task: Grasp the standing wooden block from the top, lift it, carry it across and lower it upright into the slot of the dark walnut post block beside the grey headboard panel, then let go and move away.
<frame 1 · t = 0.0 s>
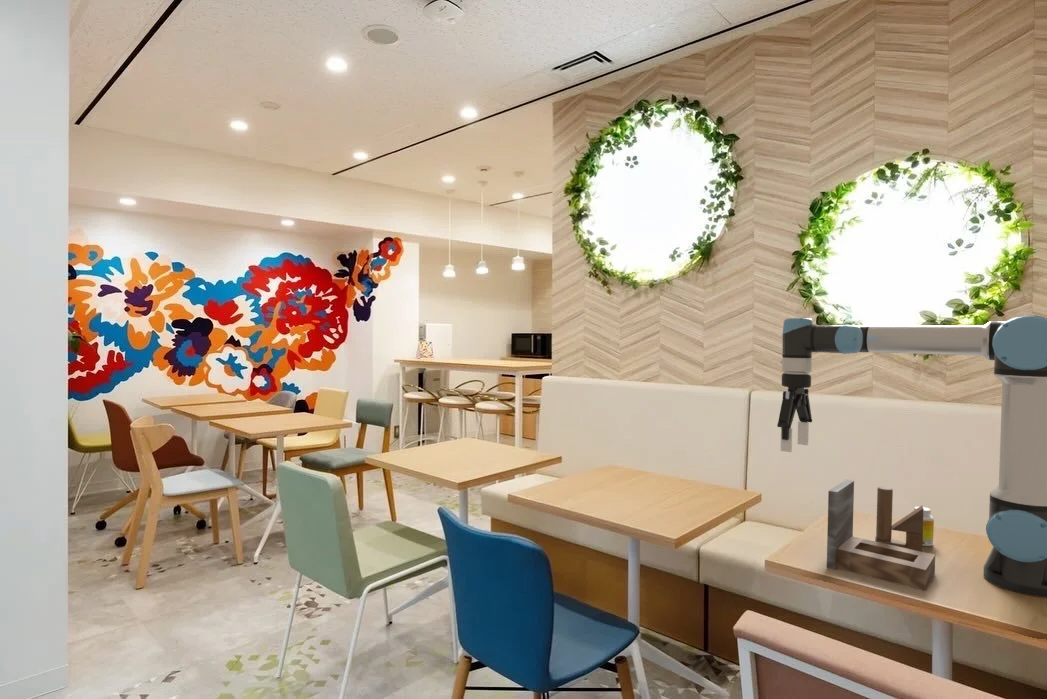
hand: (794, 448, 165), 28 cm above the table, tool pointing down, fingers open, 13 cm apart
wooden block: (897, 555, 159), on the table
post block: (885, 571, 148), on the table
supplement bottle: (921, 544, 168), on the table
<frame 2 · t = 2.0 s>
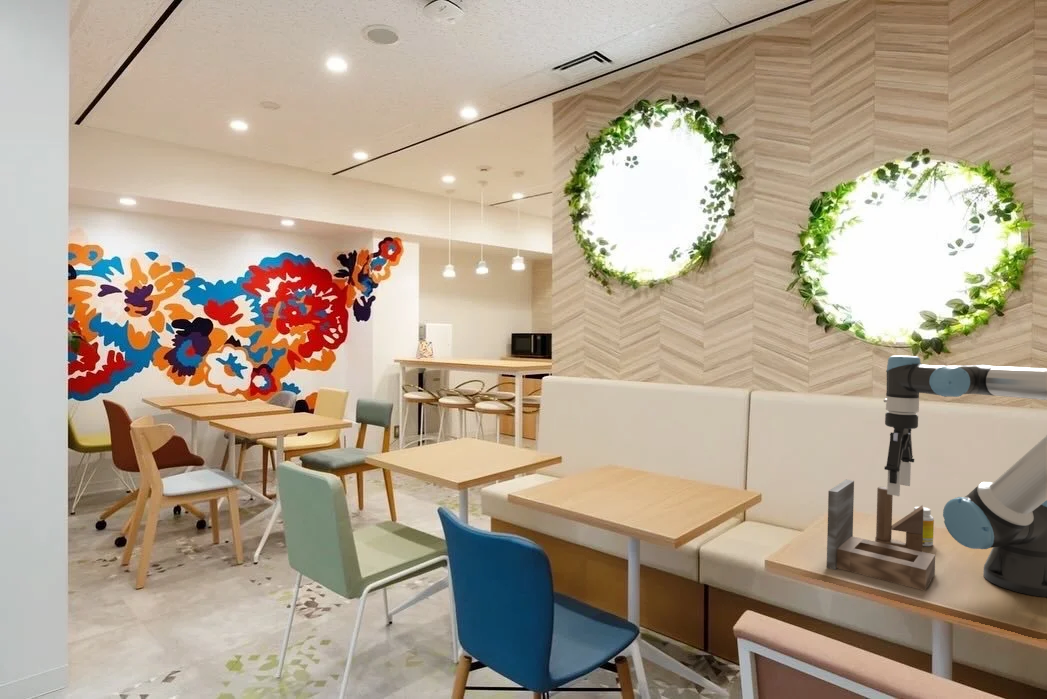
hand: (898, 489, 159), 18 cm above the table, tool pointing down, fingers open, 13 cm apart
nothing on the table moved.
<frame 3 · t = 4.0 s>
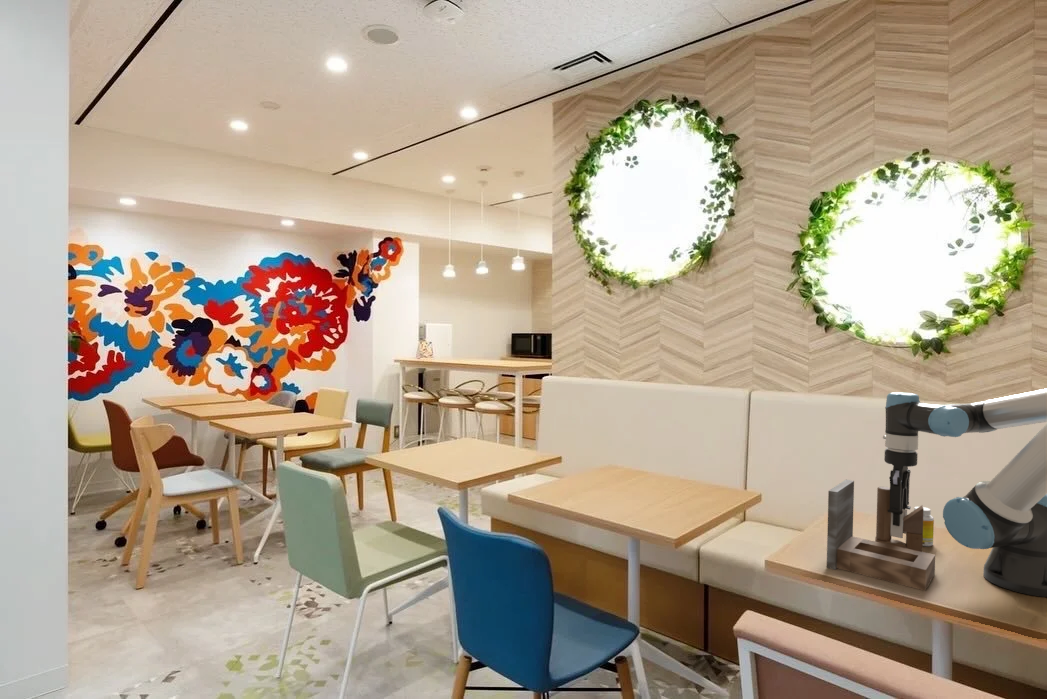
hand: (898, 534, 159), 6 cm above the table, tool pointing down, fingers closed on wooden block, 4 cm apart
wooden block: (897, 555, 159), on the table, touching gripper
everything else where it was.
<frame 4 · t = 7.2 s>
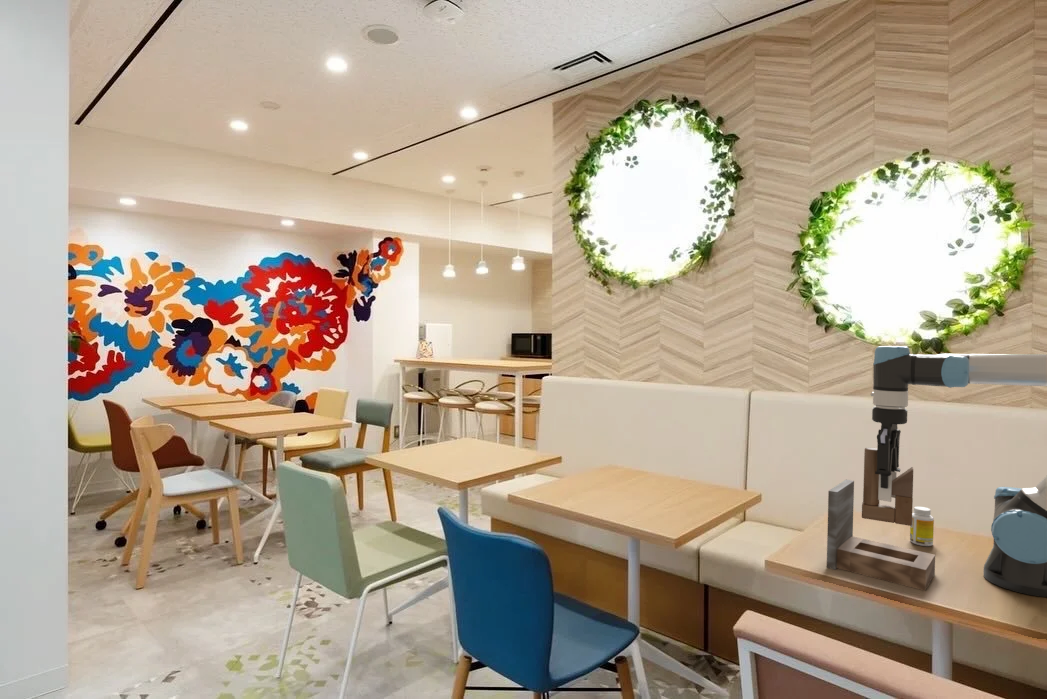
hand: (887, 498, 148), 19 cm above the table, tool pointing down, fingers closed on wooden block, 4 cm apart
wooden block: (886, 521, 148), point 13 cm above the table, touching gripper
everything else where it was.
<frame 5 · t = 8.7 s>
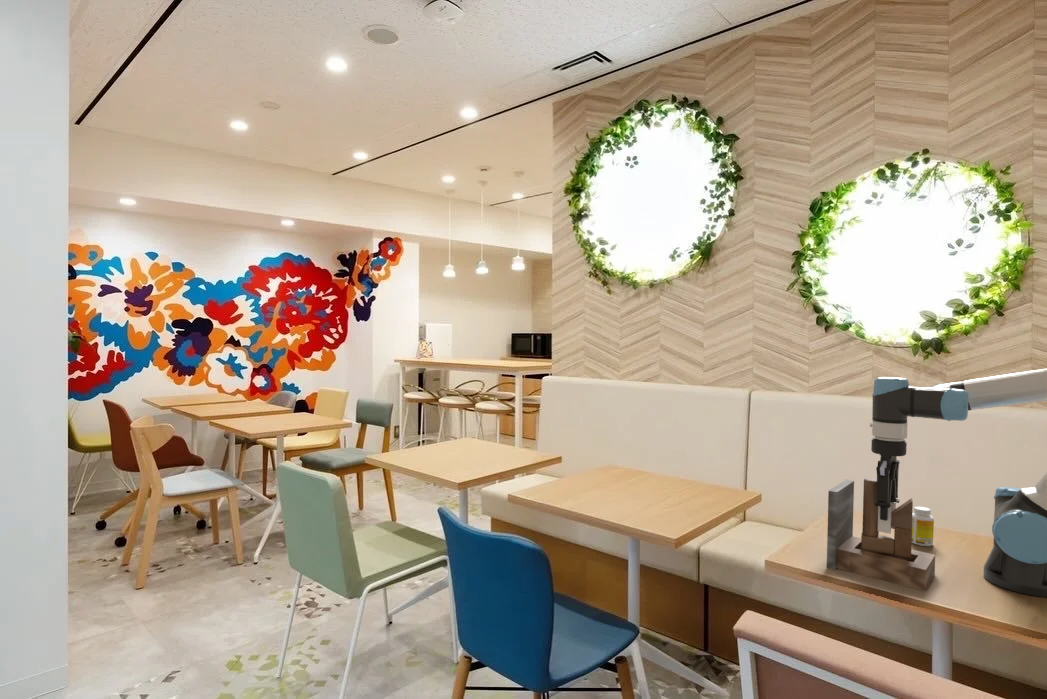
hand: (886, 529, 148), 11 cm above the table, tool pointing down, fingers closed on wooden block, 4 cm apart
wooden block: (885, 552, 148), point 5 cm above the table, touching gripper
everything else where it was.
when the fingers open (7 cm above the table, at t = 10.2 s): wooden block drops 1 cm, resting in post block.
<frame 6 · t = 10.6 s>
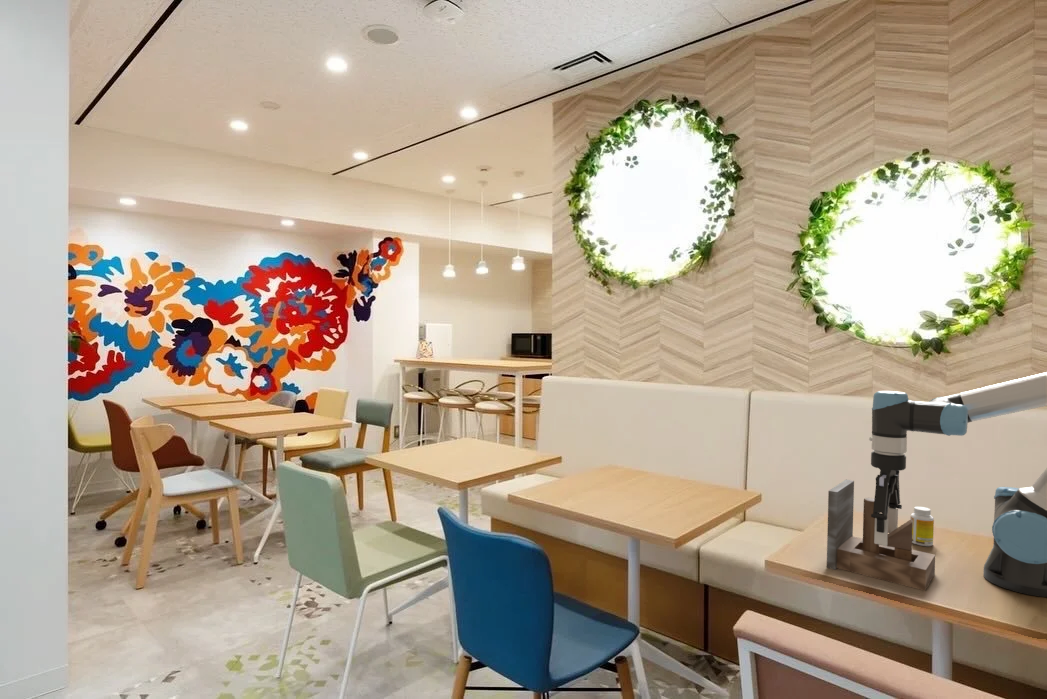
hand: (886, 538, 148), 8 cm above the table, tool pointing down, fingers open, 10 cm apart
wooden block: (885, 572, 148), resting in post block
everything else where it was.
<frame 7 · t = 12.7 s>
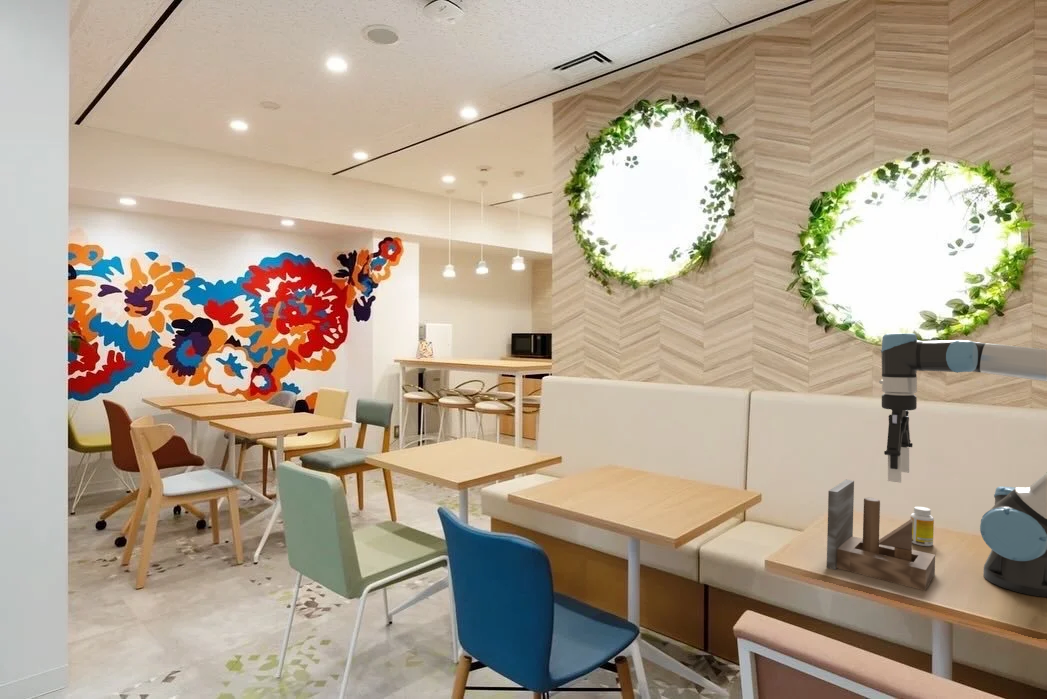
hand: (898, 476, 149), 24 cm above the table, tool pointing down, fingers open, 13 cm apart
nothing on the table moved.
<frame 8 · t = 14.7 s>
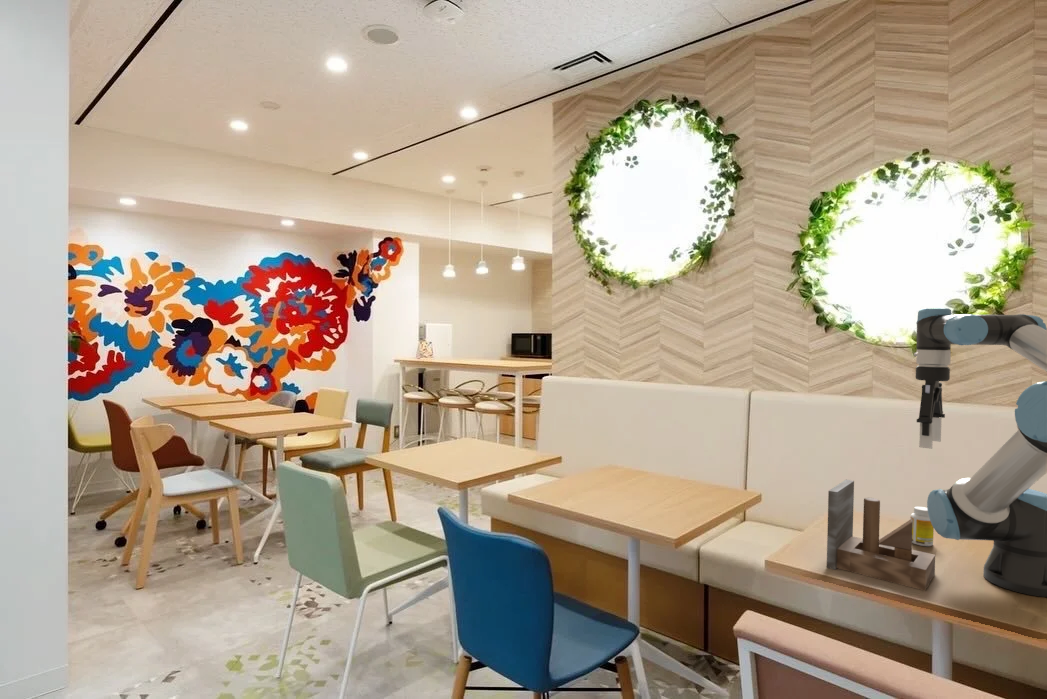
hand: (930, 444, 157), 31 cm above the table, tool pointing down, fingers open, 13 cm apart
nothing on the table moved.
at the end: wooden block 0.1 cm off-centre on the post block, point 0.0 cm above the post block's base; wooden block tilted 0°; the gripper is holding nothing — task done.
